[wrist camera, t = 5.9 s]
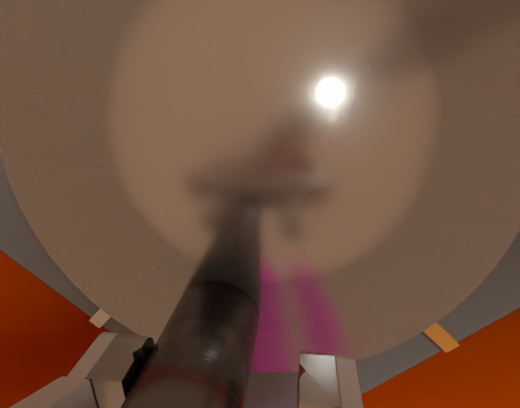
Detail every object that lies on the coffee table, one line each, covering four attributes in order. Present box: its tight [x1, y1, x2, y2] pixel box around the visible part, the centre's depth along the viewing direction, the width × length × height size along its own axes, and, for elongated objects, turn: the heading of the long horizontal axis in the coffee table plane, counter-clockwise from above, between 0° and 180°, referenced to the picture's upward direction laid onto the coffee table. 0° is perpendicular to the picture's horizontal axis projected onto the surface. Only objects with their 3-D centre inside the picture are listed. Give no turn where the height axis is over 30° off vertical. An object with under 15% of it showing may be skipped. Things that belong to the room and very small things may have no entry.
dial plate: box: [0, 155, 520, 408], centre depth 12 cm, size 22×22×2 cm
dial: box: [0, 0, 520, 408], centre depth 7 cm, size 16×16×8 cm
